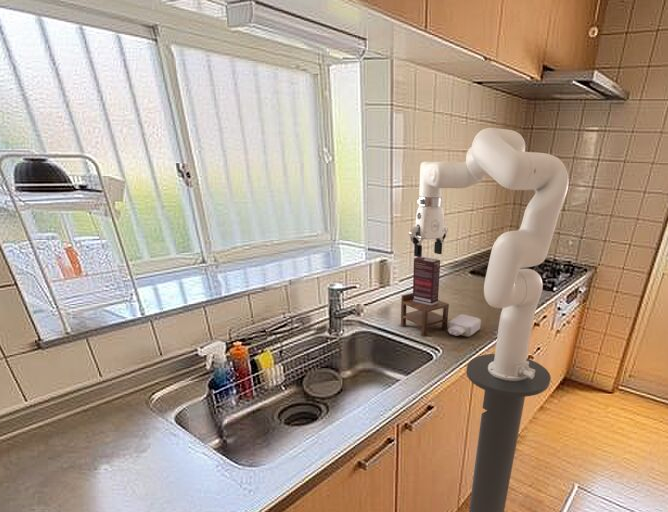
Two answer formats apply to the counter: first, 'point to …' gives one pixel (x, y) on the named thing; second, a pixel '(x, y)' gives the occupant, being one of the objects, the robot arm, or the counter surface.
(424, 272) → the supplement box
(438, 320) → the shelf rack
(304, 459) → the counter surface
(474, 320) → the charger
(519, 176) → the robot arm
